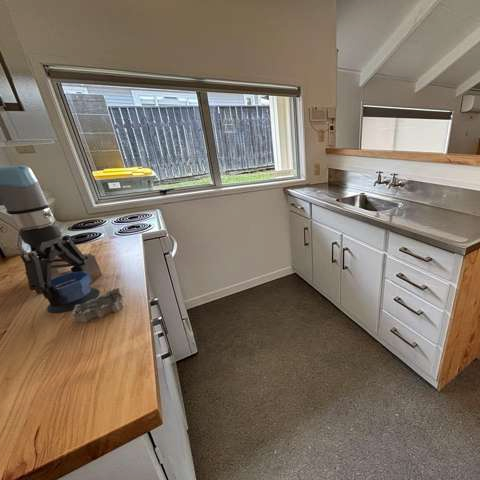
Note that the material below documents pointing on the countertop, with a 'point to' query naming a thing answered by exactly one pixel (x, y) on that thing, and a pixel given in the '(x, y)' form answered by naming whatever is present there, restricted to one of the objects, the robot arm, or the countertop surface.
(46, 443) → the countertop surface
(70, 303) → the mat
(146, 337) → the countertop surface
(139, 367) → the countertop surface
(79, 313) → the egg carton
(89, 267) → the rack
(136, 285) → the countertop surface
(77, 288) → the bowl
